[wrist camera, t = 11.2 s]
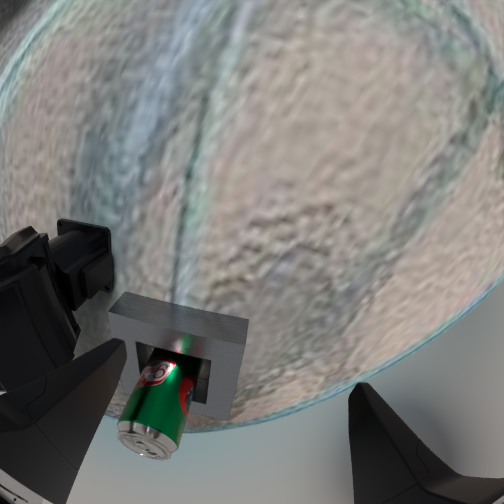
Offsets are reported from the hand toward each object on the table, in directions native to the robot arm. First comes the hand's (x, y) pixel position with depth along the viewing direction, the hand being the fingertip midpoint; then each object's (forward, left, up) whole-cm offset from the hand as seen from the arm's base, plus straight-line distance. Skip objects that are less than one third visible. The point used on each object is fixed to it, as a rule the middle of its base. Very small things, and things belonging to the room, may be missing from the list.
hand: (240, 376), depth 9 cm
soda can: (-6, -13, -13) cm, 19 cm away
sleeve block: (-6, -13, -13) cm, 19 cm away
